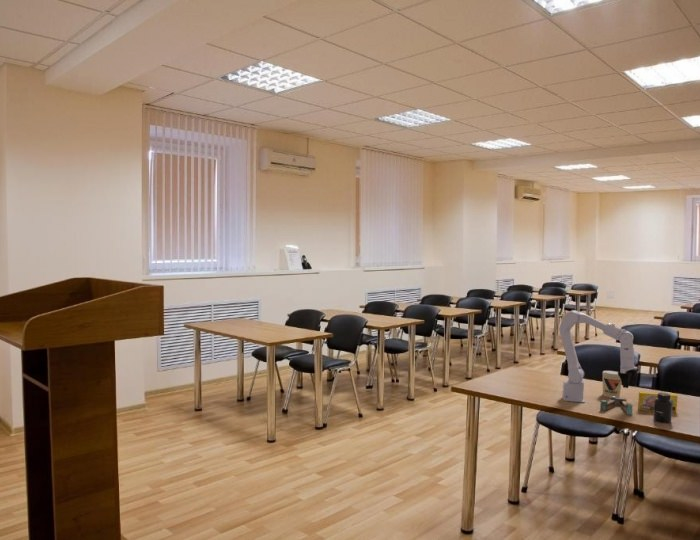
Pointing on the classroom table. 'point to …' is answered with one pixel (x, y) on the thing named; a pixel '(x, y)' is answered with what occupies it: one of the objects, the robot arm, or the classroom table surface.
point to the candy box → (653, 401)
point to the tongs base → (623, 404)
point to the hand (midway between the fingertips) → (628, 386)
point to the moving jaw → (607, 405)
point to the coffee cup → (611, 384)
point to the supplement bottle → (663, 408)
